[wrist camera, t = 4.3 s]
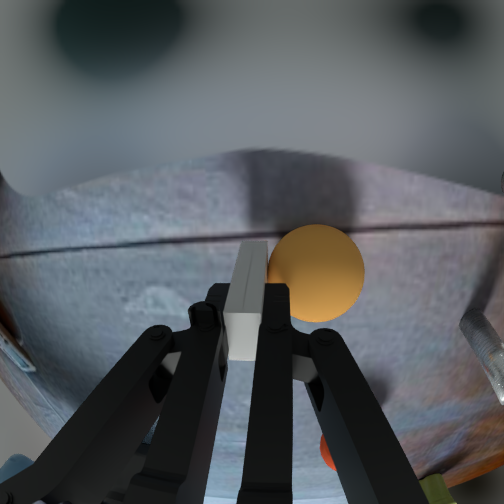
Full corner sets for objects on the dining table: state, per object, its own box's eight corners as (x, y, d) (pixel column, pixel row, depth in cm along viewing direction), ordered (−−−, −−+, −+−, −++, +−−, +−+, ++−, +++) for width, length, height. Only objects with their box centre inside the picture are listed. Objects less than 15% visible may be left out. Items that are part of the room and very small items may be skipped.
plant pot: (414, 476, 39) (421, 513, 31) (455, 464, 38) (464, 499, 30) (400, 491, 43) (404, 524, 35) (438, 481, 42) (445, 512, 34)
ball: (250, 304, 20) (302, 356, 15) (248, 220, 17) (312, 259, 13) (318, 281, 22) (374, 319, 18) (324, 206, 20) (391, 234, 15)
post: (455, 332, 22) (495, 408, 14) (465, 309, 21) (512, 385, 13) (475, 330, 22) (516, 400, 14) (485, 307, 21) (533, 378, 13)
